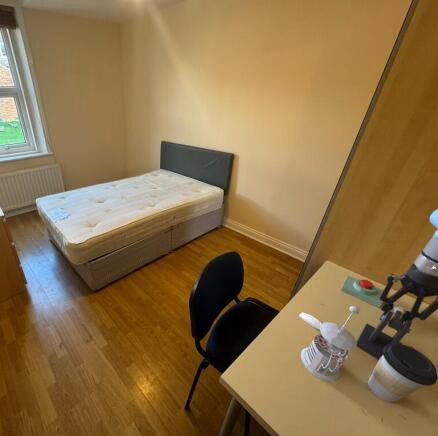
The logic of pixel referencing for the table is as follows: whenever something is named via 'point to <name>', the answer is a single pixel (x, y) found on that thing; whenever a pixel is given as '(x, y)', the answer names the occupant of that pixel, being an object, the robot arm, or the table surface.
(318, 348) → the french press
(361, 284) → the power button
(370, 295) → the button block
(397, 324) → the lever switch
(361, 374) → the table surface
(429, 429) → the table surface
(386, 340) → the black lever stand
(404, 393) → the coffee cup
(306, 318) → the white rounded bar
